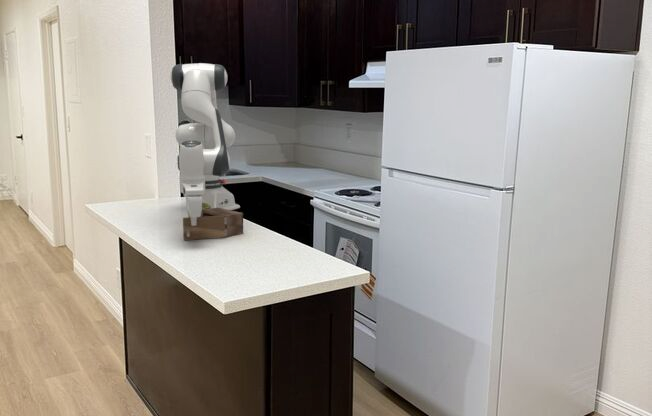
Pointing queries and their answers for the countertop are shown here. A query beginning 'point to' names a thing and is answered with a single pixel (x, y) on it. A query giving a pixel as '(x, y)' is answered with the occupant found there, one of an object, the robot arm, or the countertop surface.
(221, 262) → the countertop surface
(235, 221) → the cabinet
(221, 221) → the door
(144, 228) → the countertop surface
